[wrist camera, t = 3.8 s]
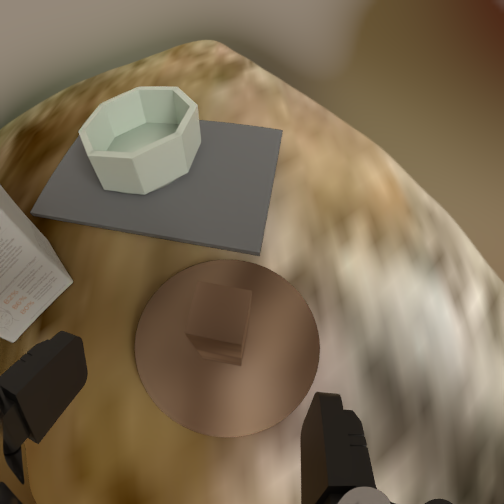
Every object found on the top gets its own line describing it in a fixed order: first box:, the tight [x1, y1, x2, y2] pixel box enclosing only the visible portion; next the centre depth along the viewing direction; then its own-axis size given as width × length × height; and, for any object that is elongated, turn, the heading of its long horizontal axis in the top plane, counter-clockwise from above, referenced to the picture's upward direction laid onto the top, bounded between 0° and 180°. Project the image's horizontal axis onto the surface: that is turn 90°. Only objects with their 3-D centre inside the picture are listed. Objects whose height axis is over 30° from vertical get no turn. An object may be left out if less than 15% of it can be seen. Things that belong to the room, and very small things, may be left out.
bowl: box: [79, 87, 201, 195], centre depth 25 cm, size 10×10×5 cm
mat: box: [30, 120, 283, 256], centre depth 26 cm, size 22×14×1 cm, turn 80°
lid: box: [135, 260, 320, 437], centre depth 16 cm, size 12×12×8 cm
